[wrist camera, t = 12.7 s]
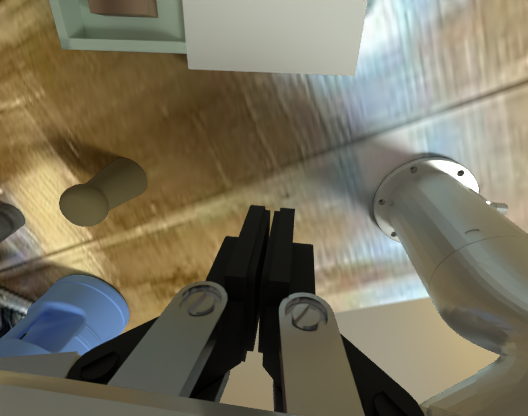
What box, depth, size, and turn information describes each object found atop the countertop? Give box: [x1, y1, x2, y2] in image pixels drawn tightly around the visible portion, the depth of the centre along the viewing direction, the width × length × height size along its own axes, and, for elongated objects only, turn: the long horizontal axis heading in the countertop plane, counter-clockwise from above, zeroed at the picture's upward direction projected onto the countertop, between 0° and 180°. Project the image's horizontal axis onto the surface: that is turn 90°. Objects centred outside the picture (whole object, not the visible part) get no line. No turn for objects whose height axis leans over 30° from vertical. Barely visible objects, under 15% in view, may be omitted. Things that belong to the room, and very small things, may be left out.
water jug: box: [0, 275, 129, 358], centre depth 44 cm, size 16×16×28 cm
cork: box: [59, 158, 147, 227], centre depth 37 cm, size 6×6×11 cm
